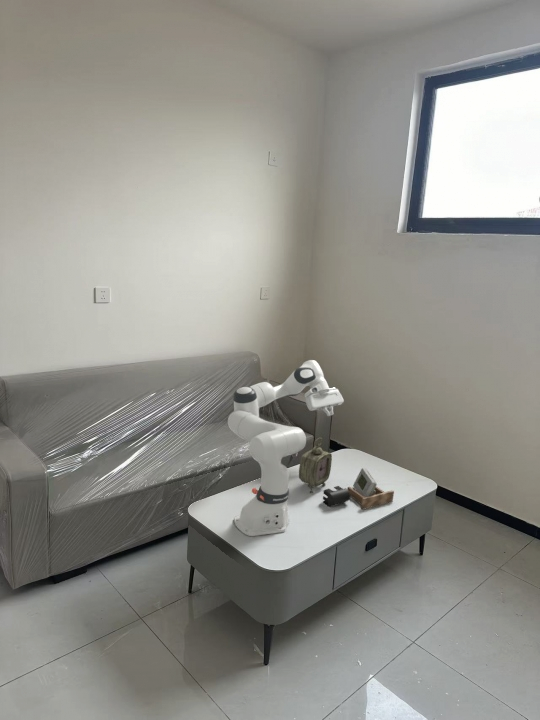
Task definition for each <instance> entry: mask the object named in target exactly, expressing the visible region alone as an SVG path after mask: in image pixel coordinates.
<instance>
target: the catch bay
mask: <svg viewBox="0 0 540 720" xmlns="http://www.w3.org/2000/svg"><path fill="white" fill-rule="evenodd" d="M346 489H347V490H348V491H349V493H350V498H351V499H353V500H355V501H356V502H357V503H359V504H360V505H361V506H360V509H361V510H362V509H363V510H366V509H369V508H373V506H374V507H377V506H381V505H385V504H388V503H391V502H393V501H394V494H395V491H394V490H389V491H383V489H381V488H380V487H378V486H376V487H375V489H374V490H375V491H376V495H372V496H368V497H364V496H362V495H361V494H359V493H358V492H356V490H355V489H353V488H352V487H351V486H347V488H346ZM365 508H366V509H365Z"/></svg>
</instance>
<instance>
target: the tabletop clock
mask: <svg viewBox="0 0 540 720" xmlns="http://www.w3.org/2000/svg"><path fill="white" fill-rule="evenodd" d="M318 440H320V443H317V442H318ZM322 444H323V438H322V437H318V438H316V439H315V440H314V443H313V448H312V449H310V450H307V451H306V452H305V453H303V454H302V455H301V456H300V460H299V468H298V478H299V480H300V482H302V483H304V484H307V487H310V490H309V493H310V494H311V495H312V494H314V490H313V487H314V488H317V487H319V486H323V487H325V486H326V482H327V481H328V479H329V477H330V475H331V469H332V461H333V460H332V459H333V457H332V456H333V455H332V453H331V452H328V451H324V450H323V449H322V447H320V446H321V445H322Z"/></svg>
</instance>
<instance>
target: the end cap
mask: <svg viewBox="0 0 540 720" xmlns="http://www.w3.org/2000/svg"><path fill="white" fill-rule="evenodd" d="M333 489H335V490H333ZM333 489H331V488H325V489H324V490H323V493H322V494H323V495H325V496H322V503H323V504H324V505H326V506H327V507H329V508H331V507H334V506H337V505H340V504H344V503H347V502H349V501H350V498H351V497H350V493H349V491H348V490H347V488H346V487H345V488H343V487H342V486H340V485H337V486H333Z"/></svg>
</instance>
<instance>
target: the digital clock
mask: <svg viewBox="0 0 540 720" xmlns="http://www.w3.org/2000/svg"><path fill="white" fill-rule="evenodd" d="M377 485H378V484H377V482H376V480H375V479H374V477H373V476H372V474H371V473H370V471H368V469H367V468H366V467H362V468H361V469H360V471H359V474H358V475H357V476H356V479H355V481H354V483H353V485H352V486H353V488H354V490H355V491H356V492H358V493H359V494H361V495H362V496H364V497H368V496H372V495H376V491H375V490H374V489H375V487H377Z"/></svg>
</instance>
